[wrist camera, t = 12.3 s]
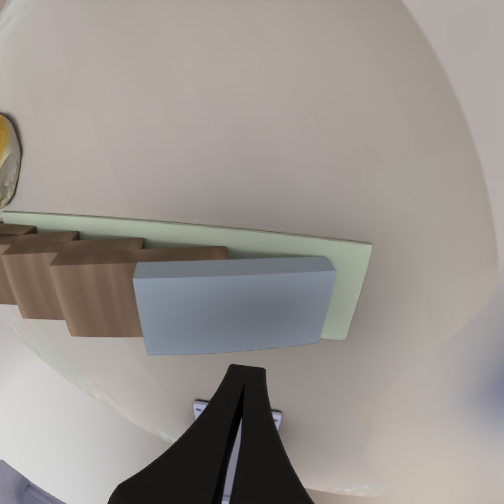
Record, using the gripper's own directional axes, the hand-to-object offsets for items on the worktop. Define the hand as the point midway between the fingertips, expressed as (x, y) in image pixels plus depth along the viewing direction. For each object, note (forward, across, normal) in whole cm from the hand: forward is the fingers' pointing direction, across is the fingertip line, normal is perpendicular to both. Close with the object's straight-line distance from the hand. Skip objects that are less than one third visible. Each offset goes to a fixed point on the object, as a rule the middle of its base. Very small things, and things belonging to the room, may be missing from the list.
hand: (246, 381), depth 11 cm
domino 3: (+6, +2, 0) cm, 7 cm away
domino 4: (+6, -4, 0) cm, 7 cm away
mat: (+7, +8, 0) cm, 11 cm away
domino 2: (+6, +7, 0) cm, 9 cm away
